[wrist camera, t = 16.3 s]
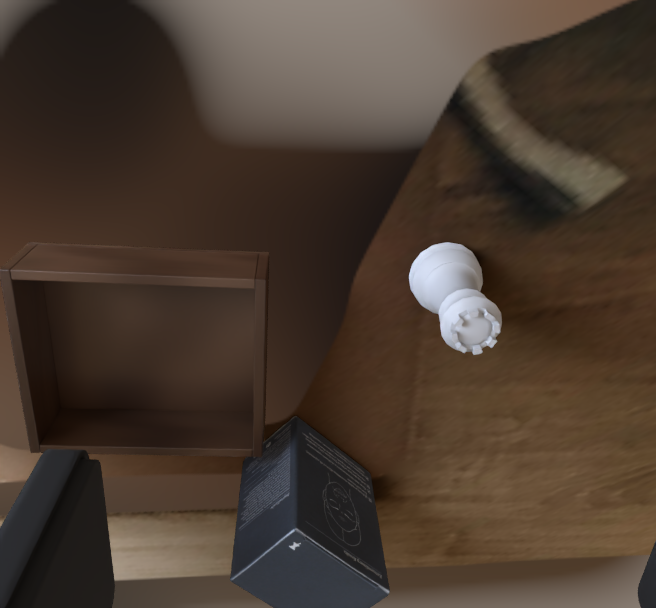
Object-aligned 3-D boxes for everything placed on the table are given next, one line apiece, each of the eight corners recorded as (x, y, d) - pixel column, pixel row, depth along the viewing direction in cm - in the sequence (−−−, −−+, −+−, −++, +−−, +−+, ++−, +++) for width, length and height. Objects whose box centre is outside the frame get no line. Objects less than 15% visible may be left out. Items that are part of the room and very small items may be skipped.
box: (241, 459, 45) (226, 582, 35) (296, 412, 43) (296, 526, 34) (319, 516, 47) (324, 644, 38) (373, 473, 46) (393, 595, 36)
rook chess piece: (481, 238, 38) (524, 292, 31) (474, 304, 40) (513, 369, 33) (409, 239, 38) (435, 294, 31) (405, 306, 40) (429, 371, 33)
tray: (54, 412, 42) (30, 453, 38) (29, 242, 37) (-3, 269, 33) (265, 417, 43) (262, 457, 39) (269, 251, 38) (266, 279, 34)
